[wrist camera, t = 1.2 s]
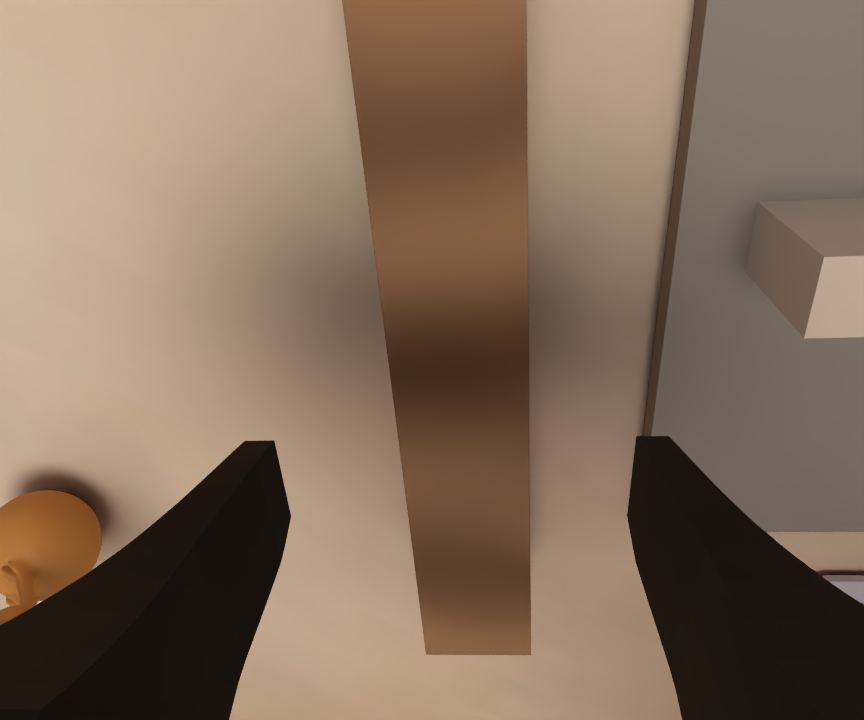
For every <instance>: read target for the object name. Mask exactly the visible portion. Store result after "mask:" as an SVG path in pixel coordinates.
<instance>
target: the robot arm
mask: <svg viewBox="0 0 864 720" xmlns="http://www.w3.org/2000/svg"><path fill="white" fill-rule="evenodd" d="M627 516H628V522H629V528H630V533H631V539H632V544H633V550H634V555H635V560H636V564H637V567H638V571H639V574H640V577H641V580H642V583H643V586H644V590H645V593H646V596H647V599H648V602H649V605H650V608H651V611H652V615H653V618H654V621H655V624H656V627H657V630H658V633H659V636H660V639H661V642H662V646H663V649H664V652H665V655H666V658H667V661H668V664H669V667H670V671H671V674H672V678H673V682H674V685H675V689H676V693H677V697H678V702H679V707H680V711H681V716H682V720H864V575H824V576H821V575H819V574H818V573H817V572H815V571H814V570H813V569H811V568H810V567H809V566H807V565H806V564H804V563H803V562H802V561H800V560H799V559H798V558H796V557H795V556H794V555H793V554H791V553H790V552H789V551H788V550H786V549H785V548H784V547H783V546H781V545H780V544H779V543H778V542H776V541H775V540H774V539H773V538H772V537H771V536H770V535H768V534H767V533H766V532H765V531H764V530H763V529H761V528H760V527H759V526H758V525H757V524H756V523H755V522H753V521H752V520H751V519H750V518H749V517H748V516H747V515H746V514H745V513H744V512H743V511H742V510H741V509H740V508H739V507H737V506H736V505H735V504H734V503H733V502H732V501H731V500H730V499H729V498H728V497H727V496H726V495H725V494H724V493H723V492H722V491H721V490H720V489H719V488H718V487H717V486H716V485H715V484H714V483H713V482H712V481H711V480H710V479H709V478H708V477H707V476H706V475H705V474H704V472H703V471H702V470H701V469H700V468H699V467H698V466H697V465H696V464H695V463H694V462H693V461H692V460H691V459H690V458H689V457H688V456H687V454H686V453H685V452H684V451H683V450H682V449H681V448H680V447H679V446H678V445H677V444H676V443H675V442H674V441H673V440H672V439H671V438H670V437H669V436H636V445H635V453H634V462H633V471H632V479H631V488H630V497H629V505H628V514H627ZM290 518H291V514H290V510H289V505H288V501H287V496H286V492H285V487H284V483H283V478H282V474H281V469H280V465H279V460H278V456H277V451H276V447H275V442H274V441H245V442H243V443H242V444H241V445H240V446H239V447H238V448H237V449H236V450H234V451H233V452H232V453H231V454H230V455H229V456H228V457H227V458H226V459H225V460H224V461H223V462H222V463H221V464H220V465H218V466H217V467H216V468H215V469H214V470H213V471H212V472H211V473H210V474H209V475H208V476H207V477H206V478H205V479H204V480H203V481H201V482H200V483H199V484H198V485H197V486H196V487H195V488H194V489H193V490H192V491H190V492H189V493H188V494H187V495H186V496H185V497H184V498H183V499H182V500H181V501H180V502H178V503H177V504H176V505H175V506H174V507H173V508H171V509H170V510H169V511H168V512H167V513H166V514H164V515H163V516H162V517H161V518H160V519H158V520H157V521H156V522H155V523H154V524H152V525H151V526H150V527H149V528H148V529H146V530H145V531H144V532H143V533H142V534H140V535H139V536H138V537H137V538H135V539H134V540H133V541H132V542H130V543H129V544H128V545H126V546H125V547H124V548H122V549H121V550H120V551H118V552H117V553H116V554H114V555H113V556H111V557H110V558H109V559H107V560H106V561H104V562H103V563H102V564H100V565H99V566H97V567H96V568H94V569H93V570H92V571H90V572H89V573H87V574H86V575H84V576H83V577H81V578H80V579H78V580H76V581H75V582H73V583H71V584H70V585H68V586H67V587H65V588H63V589H62V590H60V591H58V592H57V593H55V594H54V595H52V596H50V597H49V598H47V599H46V600H44V601H42V602H41V603H39V604H37V605H36V606H34V607H32V608H31V609H29V610H27V611H25V612H23V613H22V614H20V615H18V616H16V617H14V618H13V619H11V620H9V621H7V622H5V623H3V624H2V625H0V720H229V717H230V713H231V709H232V705H233V702H234V698H235V694H236V690H237V686H238V682H239V679H240V676H241V673H242V670H243V666H244V663H245V660H246V658H247V655H248V652H249V649H250V647H251V644H252V641H253V638H254V636H255V633H256V630H257V627H258V625H259V622H260V619H261V616H262V614H263V611H264V608H265V606H266V603H267V600H268V597H269V595H270V592H271V589H272V586H273V583H274V581H275V578H276V575H277V572H278V569H279V566H280V563H281V560H282V556H283V551H284V547H285V543H286V538H287V533H288V528H289V523H290Z"/></svg>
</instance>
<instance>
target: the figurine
mask: <svg viewBox="0 0 864 720" xmlns="http://www.w3.org/2000/svg"><path fill="white" fill-rule="evenodd" d="M101 543H102V533H101V527H100V524H99V521H98V519H97V517H96V515H95V513H94V512H93V510H92V509H91V508H90V507H89V506H88V505H87V504H86V503H85V502H84V501H82V500H81V499H79V498H77V497H76V496H73V495H71V494H68V493H65V492H61V491H54V490H42V491H35V492H31V493H27V494H24V495H21V496H19V497H17V498H15V499H13V500H11V501H9V502H8V503H6V504H5V505H4V506H2V507H1V508H0V593H1V594H3V595H5V596H6V602H7V604H9V605H10V607H7V608H4V609H2V610H0V625H2V624H3V623H5V622H7V621H9V620H11V619H13V618H14V617H16V616H18V615H20V614H22V613H23V612H25V611H27V610H29V609H31V608H32V607H34V606H36V604H37V601H42V600H46V599H47V598H49V597H50V596H52V595H54V594H55V593H57V592H58V591H60V590H62V589H63V588H65V587H67V586H68V585H70V584H71V583H73V582H75V581H76V580H78V579H80V578H81V577H83V576H84V575H86V574H87V573H89V572H90V571H91V570H92V568H93V567H94V565H95V563H96V561H97V559H98V556H99V553H100V550H101Z"/></svg>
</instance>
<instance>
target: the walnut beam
mask: <svg viewBox="0 0 864 720" xmlns="http://www.w3.org/2000/svg"><path fill="white" fill-rule="evenodd" d="M342 2H343V10H344V18H345V25H346V33H347V41H348V49H349V57H350V64H351V72H352V80H353V88H354V96H355V103H356V111H357V119H358V127H359V135H360V142H361V150H362V158H363V166H364V174H365V181H366V189H367V197H368V205H369V212H370V220H371V228H372V236H373V244H374V251H375V259H376V267H377V275H378V283H379V290H380V298H381V306H382V314H383V322H384V329H385V337H386V345H387V353H388V361H389V368H390V376H391V384H392V392H393V400H394V407H395V415H396V423H397V431H398V439H399V446H400V454H401V462H402V470H403V478H404V485H405V493H406V501H407V509H408V516H409V524H410V532H411V540H412V548H413V555H414V563H415V571H416V579H417V587H418V594H419V602H420V610H421V618H422V626H423V633H424V641H425V649H426V654H433V655H531V600H530V458H529V317H528V175H527V33H526V0H342Z"/></svg>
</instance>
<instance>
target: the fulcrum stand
mask: <svg viewBox="0 0 864 720" xmlns="http://www.w3.org/2000/svg"><path fill="white" fill-rule="evenodd" d="M643 436H669V437H670V438H671V439H672V440H673V441H674V442H675V443H676V444H677V445H678V446H679V447H680V448H681V449H682V450H683V451H684V452H685V453H686V454H687V456H688V457H689V458H690V459H691V460H692V461H693V462H694V463H695V464H696V465H697V466H698V467H699V468H700V469H701V470H702V471H703V472H704V474H705V475H706V476H707V477H708V478H709V479H710V480H711V481H712V482H713V483H714V484H715V485H716V486H717V487H718V488H719V489H720V490H721V491H722V492H723V493H724V494H725V495H726V496H727V497H728V498H729V499H730V500H731V501H732V502H733V503H734V504H735V505H736V506H737V507H739V508H740V509H741V510H742V511H743V512H744V513H745V514H746V515H747V516H748V517H749V518H750V519H751V520H752V521H753V522H755V523H756V524H757V525H758V526H759V527H760V528H761V529H763V530H764V531H765V532H864V0H695V8H694V16H693V25H692V33H691V41H690V49H689V58H688V66H687V74H686V83H685V91H684V99H683V107H682V116H681V124H680V132H679V140H678V149H677V157H676V165H675V173H674V182H673V190H672V198H671V207H670V215H669V223H668V231H667V240H666V248H665V256H664V264H663V273H662V281H661V289H660V297H659V306H658V314H657V322H656V331H655V339H654V347H653V355H652V364H651V372H650V380H649V388H648V397H647V405H646V413H645V421H644V430H643Z"/></svg>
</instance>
